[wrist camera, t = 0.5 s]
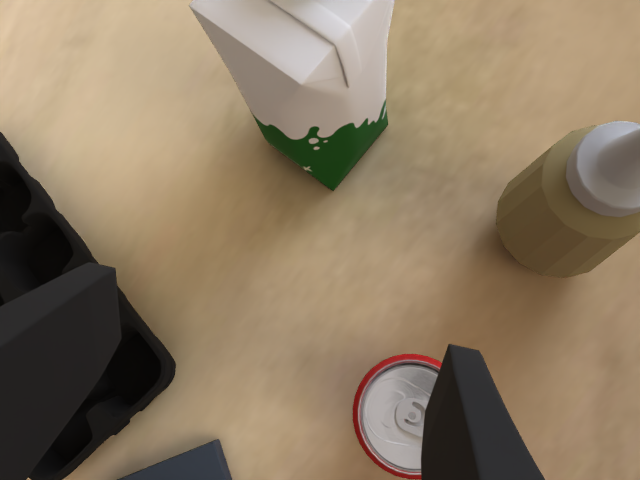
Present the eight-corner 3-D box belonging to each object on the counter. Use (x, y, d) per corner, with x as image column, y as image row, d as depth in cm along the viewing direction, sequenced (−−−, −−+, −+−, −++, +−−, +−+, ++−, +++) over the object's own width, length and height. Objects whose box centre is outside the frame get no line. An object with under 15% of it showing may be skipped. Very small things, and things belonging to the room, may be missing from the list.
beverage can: (422, 465, 38) (448, 530, 23) (345, 410, 39) (324, 439, 25) (467, 392, 39) (519, 411, 24) (389, 341, 40) (394, 329, 25)
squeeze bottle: (480, 184, 42) (551, 57, 24) (589, 176, 41) (742, 39, 24) (492, 288, 40) (578, 231, 23) (606, 282, 39) (787, 217, 22)
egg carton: (91, 502, 40) (62, 516, 36) (-157, 268, 46) (-203, 260, 43) (237, 308, 42) (223, 303, 38) (-21, 109, 48) (-54, 89, 45)
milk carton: (404, 122, 44) (422, -70, 24) (333, 208, 43) (294, 80, 23) (320, 65, 46) (275, -156, 26) (251, 146, 45) (151, -20, 25)
